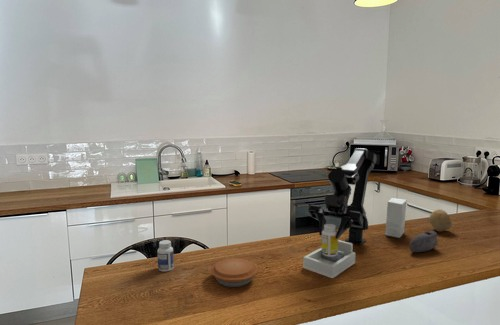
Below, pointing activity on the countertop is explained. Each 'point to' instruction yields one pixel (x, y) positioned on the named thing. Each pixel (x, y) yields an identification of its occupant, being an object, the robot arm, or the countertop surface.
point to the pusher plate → (333, 258)
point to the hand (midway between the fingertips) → (328, 236)
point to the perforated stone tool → (424, 242)
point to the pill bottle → (165, 256)
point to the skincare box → (395, 217)
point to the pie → (234, 272)
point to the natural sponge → (440, 220)
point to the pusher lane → (327, 266)
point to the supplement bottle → (329, 240)
